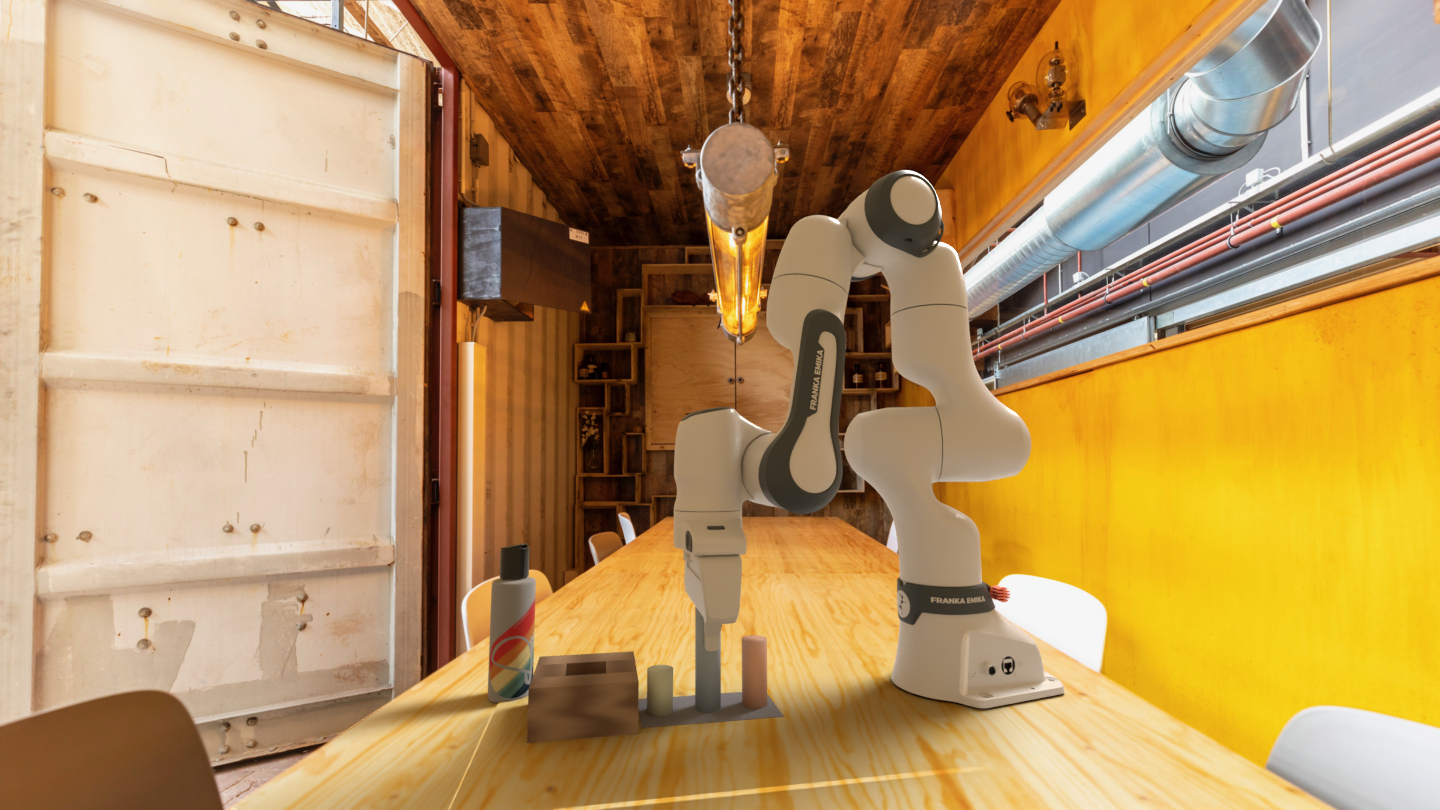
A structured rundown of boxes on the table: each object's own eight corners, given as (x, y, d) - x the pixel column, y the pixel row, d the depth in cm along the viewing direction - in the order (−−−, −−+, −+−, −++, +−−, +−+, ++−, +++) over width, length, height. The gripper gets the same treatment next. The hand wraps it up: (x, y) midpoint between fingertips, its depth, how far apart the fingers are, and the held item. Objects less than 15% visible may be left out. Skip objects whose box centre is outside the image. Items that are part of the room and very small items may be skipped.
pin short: (671, 705, 77) (671, 664, 78) (674, 715, 74) (674, 672, 75) (645, 707, 76) (646, 665, 77) (647, 717, 73) (648, 673, 74)
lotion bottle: (518, 705, 78) (523, 546, 80) (478, 702, 79) (484, 545, 81) (540, 690, 84) (544, 541, 86) (502, 687, 85) (507, 540, 87)
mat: (764, 693, 82) (764, 690, 82) (784, 719, 73) (784, 716, 74) (637, 702, 79) (637, 699, 79) (641, 731, 70) (641, 727, 70)
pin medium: (763, 698, 79) (763, 634, 80) (770, 707, 76) (769, 641, 77) (739, 700, 79) (739, 635, 80) (745, 709, 76) (744, 642, 76)
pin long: (718, 701, 78) (718, 589, 80) (723, 711, 75) (722, 594, 77) (693, 703, 78) (693, 590, 79) (697, 713, 74) (697, 595, 76)
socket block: (632, 698, 80) (633, 651, 81) (637, 737, 69) (638, 681, 69) (538, 705, 78) (539, 656, 79) (526, 746, 67) (528, 688, 67)
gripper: (674, 526, 88) (673, 625, 87) (695, 542, 68) (695, 671, 67) (717, 525, 89) (717, 623, 88) (750, 540, 69) (751, 667, 68)
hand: (708, 644), depth 77 cm, fingers open, 3 cm apart
